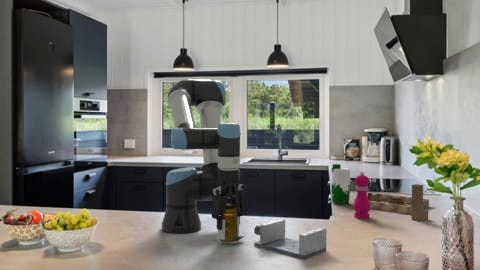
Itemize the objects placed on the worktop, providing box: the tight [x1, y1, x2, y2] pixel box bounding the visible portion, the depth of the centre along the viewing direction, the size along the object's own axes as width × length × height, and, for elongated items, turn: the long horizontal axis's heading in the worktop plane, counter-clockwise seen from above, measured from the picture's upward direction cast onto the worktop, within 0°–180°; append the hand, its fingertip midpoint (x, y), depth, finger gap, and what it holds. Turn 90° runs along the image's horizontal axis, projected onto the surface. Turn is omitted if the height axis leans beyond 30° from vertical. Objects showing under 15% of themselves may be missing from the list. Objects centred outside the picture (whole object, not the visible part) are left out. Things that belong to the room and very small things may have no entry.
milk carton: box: [330, 163, 351, 205], centre depth 215 cm, size 9×9×20 cm
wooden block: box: [410, 183, 429, 222], centre depth 178 cm, size 7×3×15 cm, turn 117°
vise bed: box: [254, 227, 327, 260], centre depth 136 cm, size 20×12×7 cm, turn 47°
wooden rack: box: [367, 192, 409, 206], centre depth 207 cm, size 18×20×6 cm
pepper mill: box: [352, 171, 372, 220], centre depth 182 cm, size 7×7×20 cm
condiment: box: [215, 202, 246, 244], centre depth 142 cm, size 7×8×12 cm
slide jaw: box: [253, 218, 286, 244], centre depth 143 cm, size 8×11×6 cm
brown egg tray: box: [353, 193, 430, 215], centre depth 207 cm, size 27×25×4 cm
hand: (228, 236), depth 142 cm, fingers closed on condiment, 6 cm apart
